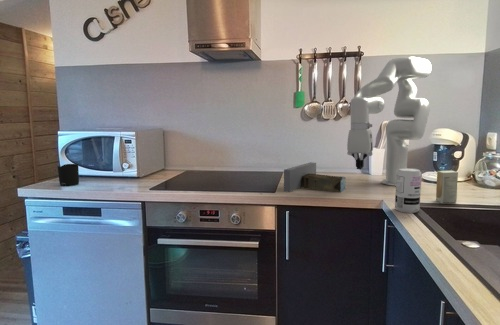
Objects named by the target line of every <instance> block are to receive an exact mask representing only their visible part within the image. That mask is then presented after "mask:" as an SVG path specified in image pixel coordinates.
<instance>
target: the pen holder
mask: <svg viewBox="0 0 500 325" xmlns="http://www.w3.org/2000/svg"><path fill="white" fill-rule="evenodd" d="M56 168H57V173H58V181H59V185H60V186H61V187H73V186H76V185H79V183H80V177H79V176H80V173H79V164H78V163H67V164H63V165H61V166H59V165H57V167H56Z"/></svg>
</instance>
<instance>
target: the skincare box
mask: <svg viewBox="0 0 500 325" xmlns="http://www.w3.org/2000/svg"><path fill="white" fill-rule="evenodd" d="M458 178H459V172H458V171H456V170H437V172H436V190H435V191H436V192H435V193H436V194H435V201H437V202H439V203H441V204H443V203H442V202H449V203H457V197H458V196H457V195H458V180H459V179H458Z"/></svg>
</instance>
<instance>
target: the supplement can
mask: <svg viewBox="0 0 500 325" xmlns="http://www.w3.org/2000/svg"><path fill="white" fill-rule="evenodd" d="M422 175H423V174H422V172H421V170H420V169H419V168H412V167H411V168H410V167H409V168H408V167H407V168H401V169H399V170H398V172H397V176H396V186H395V196H394V198H395V199H394V200H395V201H394V203H395V204H394V208H395V209H396V211H398V212H401V213H405V214H407V213H408V214H415V213H418V212H419V211H420V207H421V191H422V190H421V189H422Z"/></svg>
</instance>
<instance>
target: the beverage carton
mask: <svg viewBox="0 0 500 325" xmlns="http://www.w3.org/2000/svg"><path fill="white" fill-rule="evenodd" d="M346 186H347V178H346V177H345V176H341V175H340V176H337V175H328V174H327V175H326V174H318V173H316V174H309V173H308V174H306V175H304V176H302V188H301V189H309V190H316V191H325V192H331V193H332V192H333V193H342V192H344V191H345V190H346Z"/></svg>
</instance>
